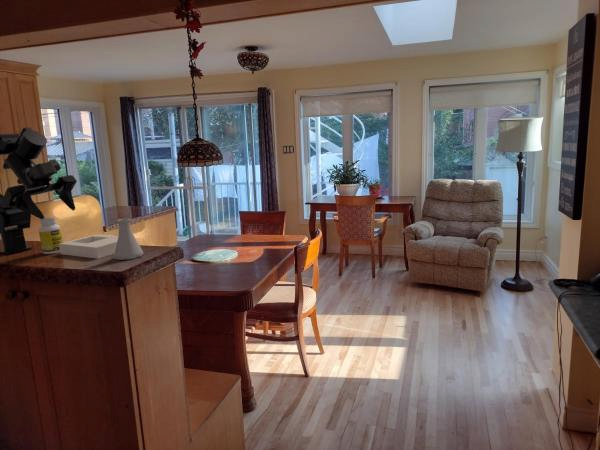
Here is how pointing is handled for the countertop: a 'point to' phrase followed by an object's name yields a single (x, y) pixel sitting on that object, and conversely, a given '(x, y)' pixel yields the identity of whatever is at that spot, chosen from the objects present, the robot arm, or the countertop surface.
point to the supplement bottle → (50, 235)
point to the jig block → (90, 246)
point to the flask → (126, 242)
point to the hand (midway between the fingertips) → (59, 213)
